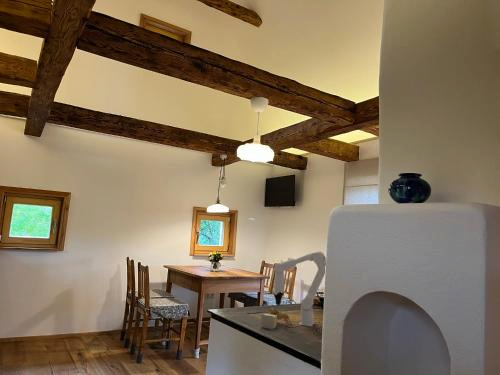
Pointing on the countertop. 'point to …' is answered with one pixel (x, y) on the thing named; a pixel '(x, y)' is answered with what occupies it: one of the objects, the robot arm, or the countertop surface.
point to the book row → (268, 321)
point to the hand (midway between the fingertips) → (278, 304)
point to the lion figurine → (280, 316)
